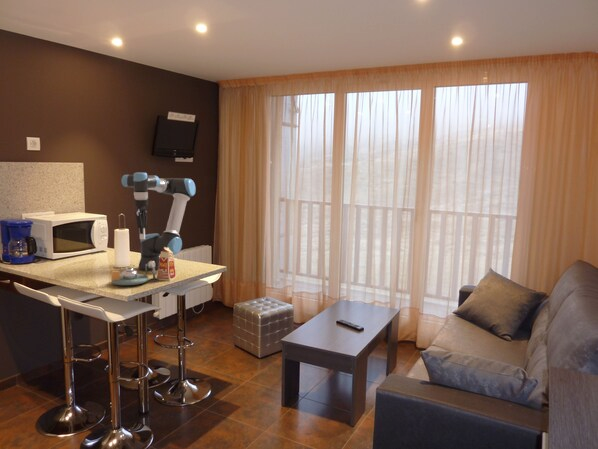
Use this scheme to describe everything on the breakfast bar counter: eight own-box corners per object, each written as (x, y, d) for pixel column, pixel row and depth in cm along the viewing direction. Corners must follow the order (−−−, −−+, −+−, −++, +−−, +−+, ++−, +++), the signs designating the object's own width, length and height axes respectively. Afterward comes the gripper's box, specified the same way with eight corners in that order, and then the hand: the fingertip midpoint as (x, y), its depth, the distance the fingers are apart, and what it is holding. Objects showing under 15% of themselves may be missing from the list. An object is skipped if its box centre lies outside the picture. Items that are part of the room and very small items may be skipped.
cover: (121, 277, 267) (120, 267, 266) (135, 275, 271) (134, 266, 270) (124, 280, 260) (124, 270, 259) (138, 278, 265) (138, 269, 264)
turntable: (107, 279, 268) (107, 268, 267) (142, 274, 279) (141, 264, 279) (116, 286, 252) (116, 275, 251) (153, 282, 263) (152, 271, 263)
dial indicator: (149, 279, 275) (149, 259, 273) (158, 280, 275) (158, 260, 273) (145, 281, 270) (145, 261, 268) (155, 282, 269) (154, 262, 268)
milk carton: (170, 280, 274) (169, 247, 271) (155, 279, 276) (155, 247, 273) (177, 277, 283) (176, 245, 280) (163, 276, 285) (162, 244, 282)
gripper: (139, 198, 274) (140, 236, 277) (130, 200, 261) (131, 240, 264) (151, 198, 273) (152, 237, 277) (143, 200, 260) (144, 241, 264)
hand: (142, 238), depth 270 cm, fingers closed
